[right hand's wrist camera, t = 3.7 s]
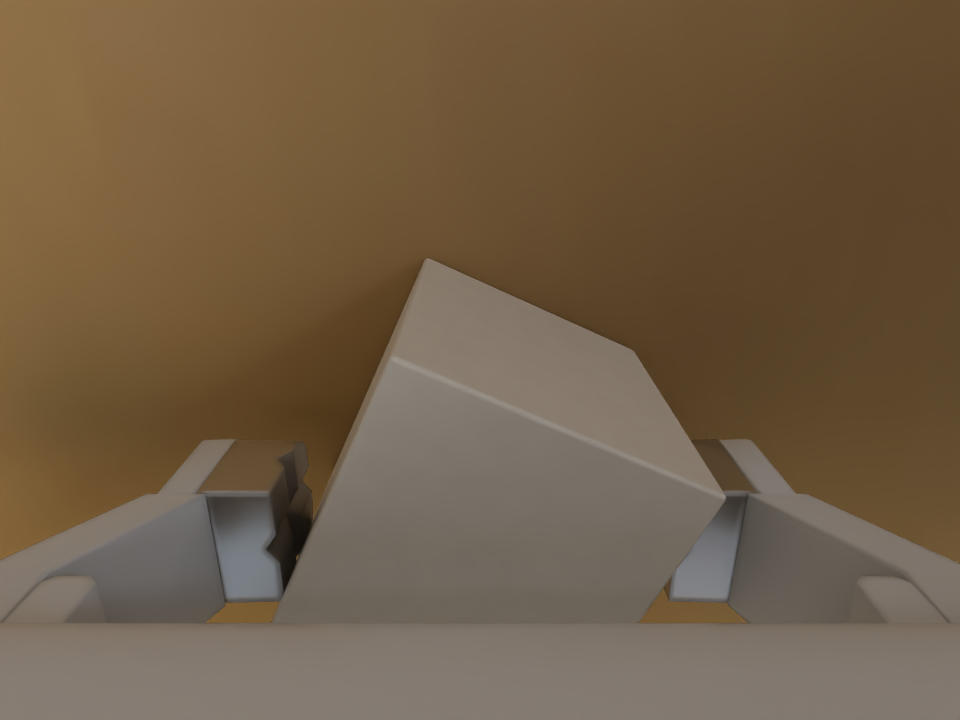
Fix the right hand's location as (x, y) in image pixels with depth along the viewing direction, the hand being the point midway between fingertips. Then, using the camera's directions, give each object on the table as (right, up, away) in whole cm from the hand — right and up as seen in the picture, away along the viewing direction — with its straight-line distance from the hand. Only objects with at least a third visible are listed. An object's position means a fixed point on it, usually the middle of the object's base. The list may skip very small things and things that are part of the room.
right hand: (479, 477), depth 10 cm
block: (0, +1, +2) cm, 2 cm away
